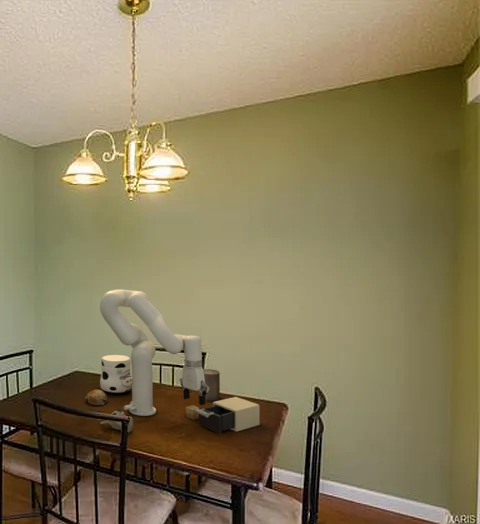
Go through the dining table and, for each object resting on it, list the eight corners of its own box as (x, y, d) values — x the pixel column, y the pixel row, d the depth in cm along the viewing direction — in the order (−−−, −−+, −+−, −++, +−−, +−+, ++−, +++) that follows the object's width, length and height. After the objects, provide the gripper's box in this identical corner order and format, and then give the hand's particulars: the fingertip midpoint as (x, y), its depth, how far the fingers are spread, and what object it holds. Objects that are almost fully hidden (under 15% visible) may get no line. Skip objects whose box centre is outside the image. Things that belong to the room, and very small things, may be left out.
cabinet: (236, 431, 176) (236, 410, 176) (212, 421, 187) (212, 402, 186) (259, 424, 183) (259, 404, 183) (235, 415, 194) (235, 396, 194)
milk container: (133, 396, 222) (133, 361, 222) (100, 396, 222) (100, 361, 222) (130, 386, 239) (130, 354, 239) (99, 386, 240) (99, 354, 240)
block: (193, 419, 189) (193, 409, 189) (186, 416, 193) (185, 407, 193) (200, 417, 191) (200, 408, 191) (193, 414, 195) (193, 405, 195)
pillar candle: (223, 397, 219) (223, 368, 219) (214, 402, 212) (214, 372, 212) (205, 393, 226) (205, 365, 225) (196, 398, 218) (196, 369, 218)
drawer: (211, 435, 169) (211, 415, 169) (190, 426, 179) (190, 406, 179) (242, 426, 178) (242, 407, 178) (220, 418, 188) (220, 399, 188)
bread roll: (96, 413, 207) (102, 400, 205) (80, 401, 212) (86, 387, 210) (106, 407, 215) (112, 394, 213) (90, 395, 220) (96, 383, 218)
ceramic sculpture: (122, 416, 169) (96, 408, 180) (123, 438, 169) (97, 429, 180) (140, 410, 176) (113, 403, 188) (141, 431, 176) (114, 423, 187)
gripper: (173, 361, 197) (174, 398, 197) (201, 368, 182) (202, 408, 182) (185, 358, 201) (186, 395, 201) (213, 366, 186) (215, 405, 186)
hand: (194, 401), depth 192 cm, fingers open, 9 cm apart
